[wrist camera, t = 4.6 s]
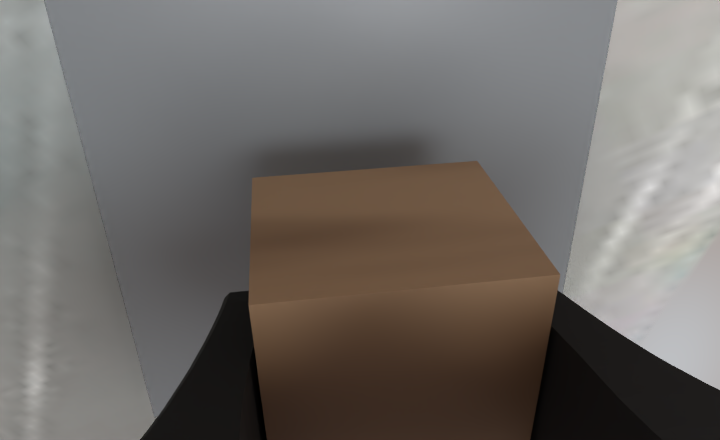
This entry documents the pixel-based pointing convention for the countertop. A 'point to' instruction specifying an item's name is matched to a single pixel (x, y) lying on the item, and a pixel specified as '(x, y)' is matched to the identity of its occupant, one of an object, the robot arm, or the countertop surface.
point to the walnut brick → (396, 306)
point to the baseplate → (310, 125)
